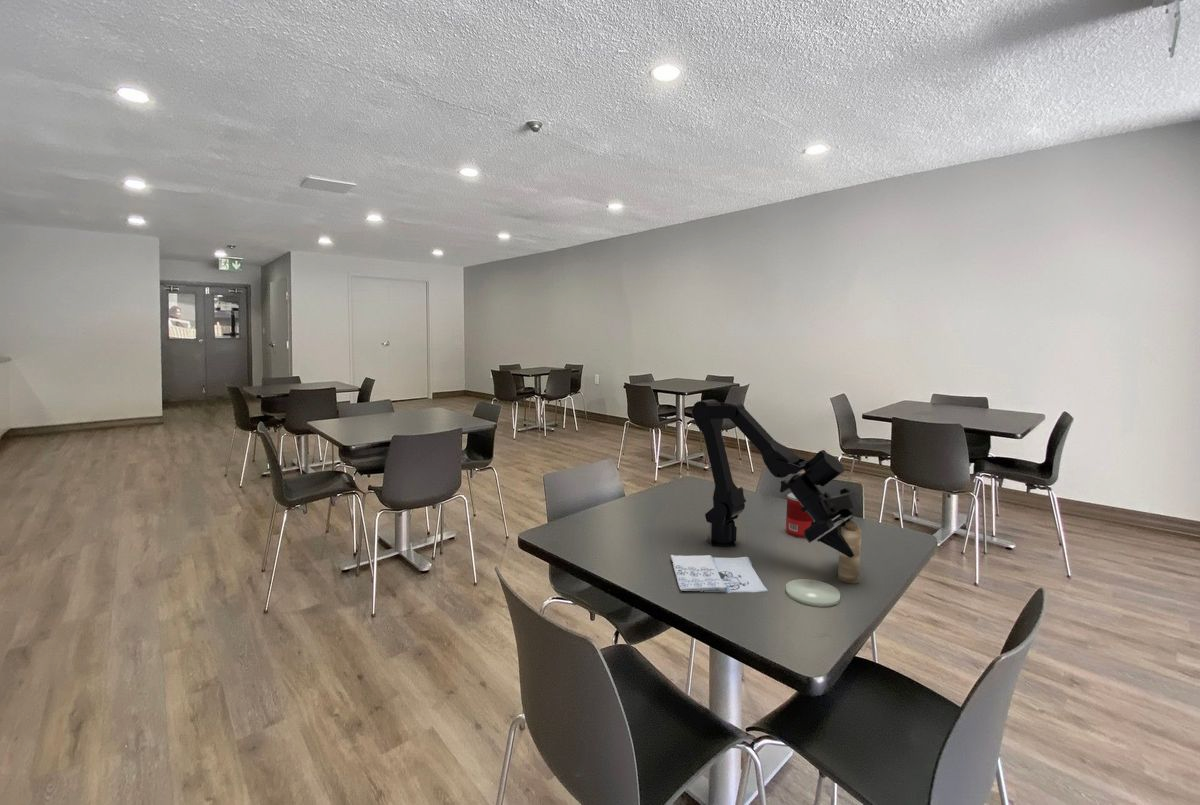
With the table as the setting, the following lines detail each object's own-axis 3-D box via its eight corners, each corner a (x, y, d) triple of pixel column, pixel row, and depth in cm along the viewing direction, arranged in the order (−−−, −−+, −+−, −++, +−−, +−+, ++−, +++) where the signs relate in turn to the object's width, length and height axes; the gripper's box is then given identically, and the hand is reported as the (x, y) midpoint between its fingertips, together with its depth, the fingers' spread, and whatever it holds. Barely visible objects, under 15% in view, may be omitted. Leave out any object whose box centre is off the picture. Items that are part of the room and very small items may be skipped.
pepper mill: (842, 583, 123) (845, 524, 121) (834, 575, 127) (837, 518, 126) (862, 583, 123) (865, 524, 121) (853, 575, 127) (857, 518, 126)
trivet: (795, 606, 112) (795, 601, 112) (779, 582, 123) (779, 578, 123) (848, 607, 112) (849, 602, 112) (828, 583, 123) (828, 579, 123)
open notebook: (670, 560, 137) (670, 552, 137) (750, 561, 136) (750, 553, 136) (678, 595, 118) (678, 586, 118) (771, 597, 117) (772, 588, 117)
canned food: (817, 539, 150) (819, 500, 149) (787, 537, 152) (789, 499, 151) (812, 529, 158) (814, 493, 157) (784, 527, 159) (785, 491, 158)
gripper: (820, 485, 118) (871, 547, 112) (850, 470, 132) (896, 525, 126) (784, 512, 124) (830, 572, 118) (816, 495, 138) (859, 548, 132)
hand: (856, 553), depth 123 cm, fingers closed on pepper mill, 4 cm apart
